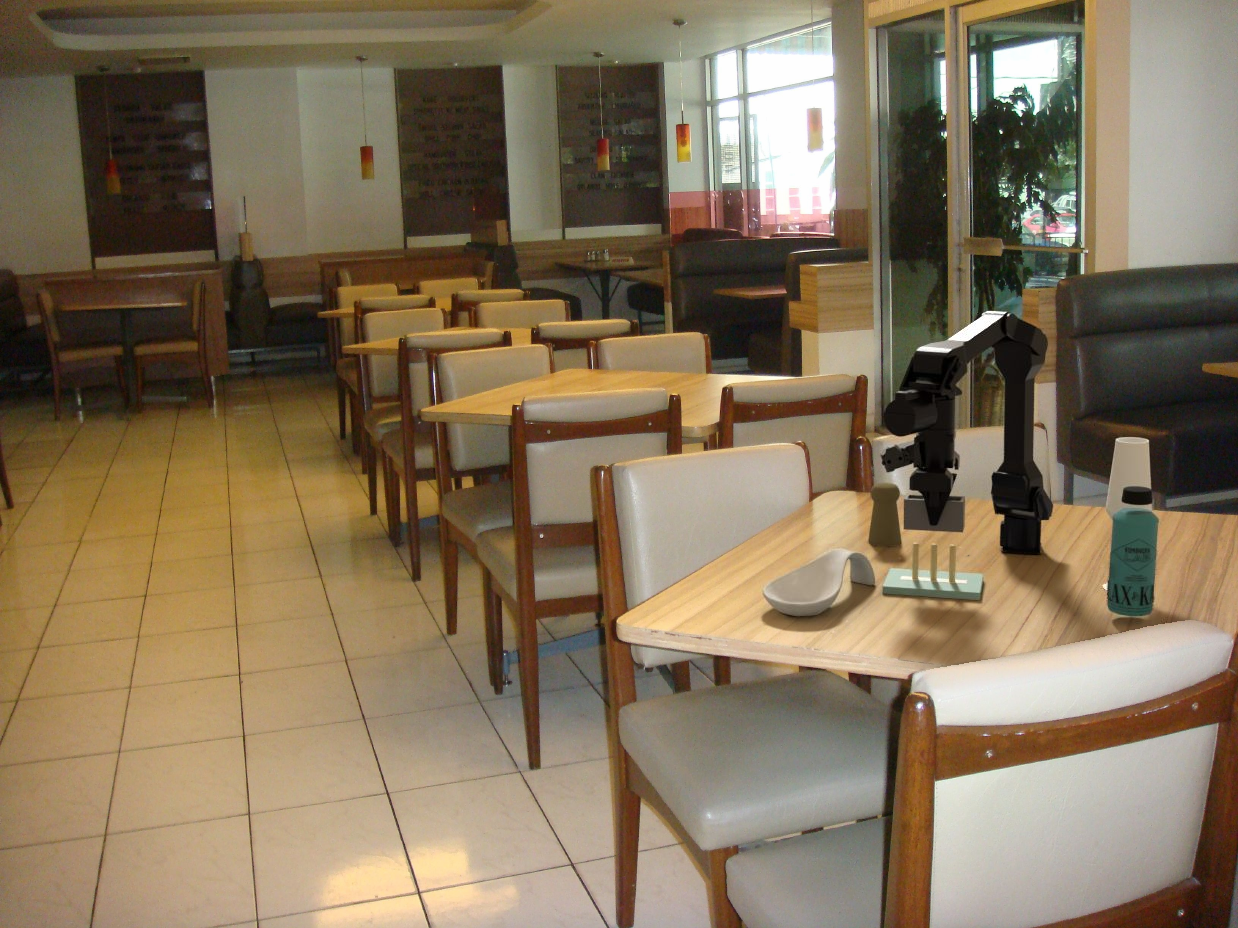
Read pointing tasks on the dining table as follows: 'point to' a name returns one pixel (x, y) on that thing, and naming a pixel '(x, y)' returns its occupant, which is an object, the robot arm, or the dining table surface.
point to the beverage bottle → (1133, 555)
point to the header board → (933, 579)
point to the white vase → (1128, 473)
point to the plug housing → (948, 521)
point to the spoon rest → (817, 583)
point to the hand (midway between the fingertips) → (934, 522)
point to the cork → (885, 515)
